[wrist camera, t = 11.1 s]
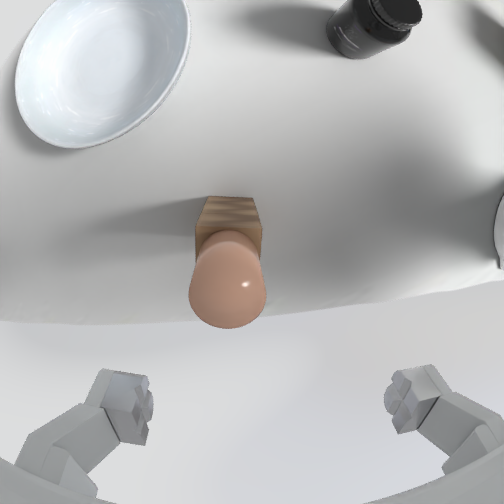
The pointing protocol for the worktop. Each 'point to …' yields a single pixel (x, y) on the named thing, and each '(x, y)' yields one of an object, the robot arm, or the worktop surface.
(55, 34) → the serving bowl
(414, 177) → the worktop surface
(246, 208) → the block middle
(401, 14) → the supplement bottle
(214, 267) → the cylinder
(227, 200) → the block bottom
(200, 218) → the block top
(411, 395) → the robot arm
